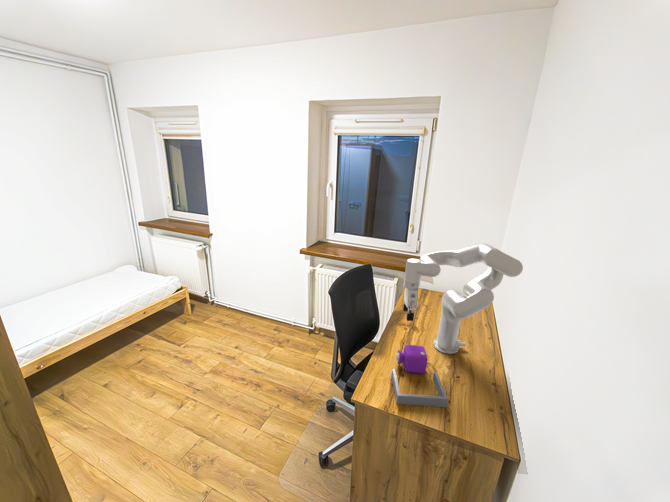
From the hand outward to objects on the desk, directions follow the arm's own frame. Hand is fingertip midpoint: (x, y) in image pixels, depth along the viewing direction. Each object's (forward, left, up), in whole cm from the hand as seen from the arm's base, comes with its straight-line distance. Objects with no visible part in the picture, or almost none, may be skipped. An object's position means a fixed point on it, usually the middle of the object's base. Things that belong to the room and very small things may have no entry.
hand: (408, 315), depth 143 cm
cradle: (0, +30, -18) cm, 35 cm away
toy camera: (0, +16, -18) cm, 24 cm away
